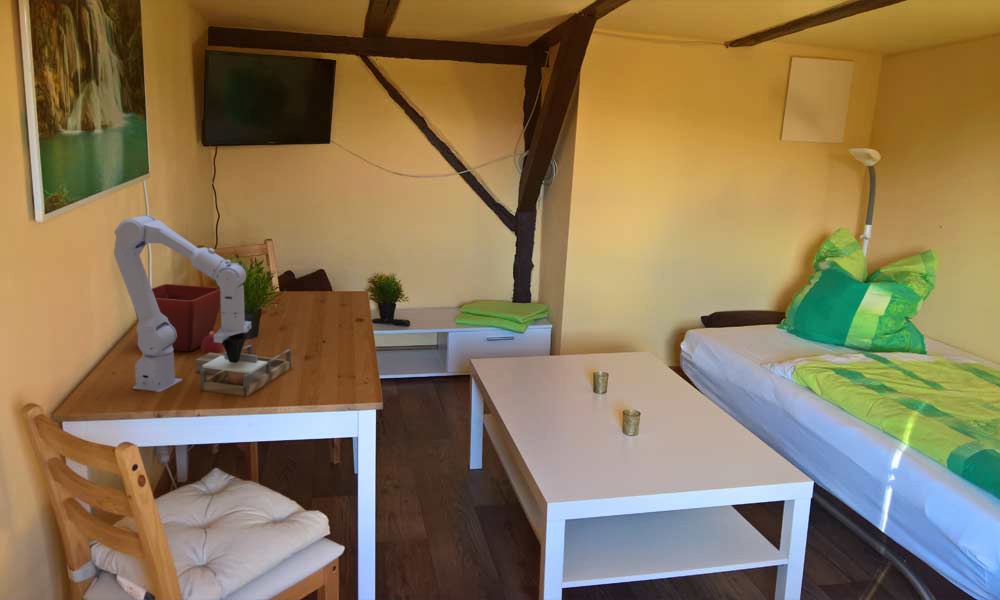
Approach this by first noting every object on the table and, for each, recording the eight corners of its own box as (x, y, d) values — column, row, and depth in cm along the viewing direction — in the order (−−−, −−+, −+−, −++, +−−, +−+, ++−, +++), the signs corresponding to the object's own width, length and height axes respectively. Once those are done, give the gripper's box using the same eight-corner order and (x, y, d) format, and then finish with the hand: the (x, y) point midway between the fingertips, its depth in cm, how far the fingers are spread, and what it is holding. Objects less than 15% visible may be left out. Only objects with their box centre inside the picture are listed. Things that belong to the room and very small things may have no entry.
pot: (240, 388, 192) (240, 370, 191) (225, 386, 193) (224, 368, 191) (249, 383, 196) (248, 365, 195) (234, 381, 197) (233, 363, 196)
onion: (218, 361, 213) (217, 335, 211) (198, 360, 213) (197, 333, 211) (225, 355, 218) (225, 329, 216) (206, 354, 218) (205, 328, 217)
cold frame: (247, 397, 187) (246, 376, 186) (200, 391, 189) (200, 370, 188) (291, 368, 210) (290, 349, 209) (249, 363, 212) (249, 344, 211)
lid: (250, 373, 187) (250, 364, 187) (202, 367, 189) (202, 358, 189) (267, 363, 195) (267, 355, 195) (220, 357, 198) (220, 349, 197)
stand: (218, 376, 201) (218, 362, 200) (195, 373, 202) (195, 359, 201) (232, 368, 207) (232, 355, 206) (210, 365, 209) (209, 352, 208)
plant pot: (167, 334, 236) (165, 282, 232) (224, 338, 234) (223, 287, 230) (132, 351, 217) (129, 296, 213) (194, 356, 216) (192, 301, 212)
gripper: (231, 319, 181) (232, 372, 184) (261, 306, 195) (262, 355, 198) (205, 316, 182) (207, 368, 185) (237, 304, 196) (238, 352, 199)
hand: (234, 361), depth 191 cm, fingers closed
